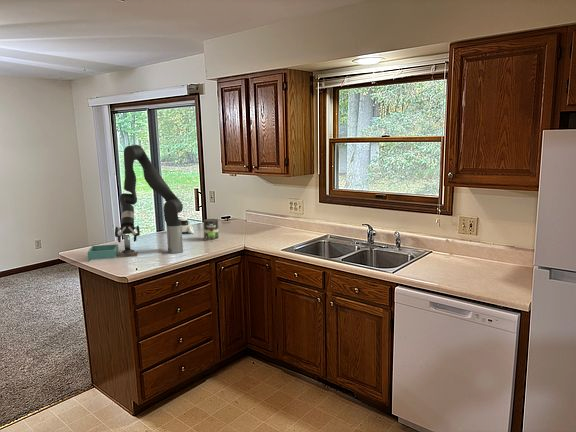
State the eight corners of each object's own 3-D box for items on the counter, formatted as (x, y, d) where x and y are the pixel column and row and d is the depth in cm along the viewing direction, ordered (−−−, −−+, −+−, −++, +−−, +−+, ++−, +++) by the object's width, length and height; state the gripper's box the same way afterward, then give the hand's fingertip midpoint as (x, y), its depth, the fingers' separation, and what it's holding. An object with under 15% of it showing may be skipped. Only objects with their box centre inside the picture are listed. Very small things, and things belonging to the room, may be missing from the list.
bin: (118, 253, 269) (118, 244, 268) (115, 259, 255) (114, 250, 254) (93, 255, 266) (92, 245, 264) (88, 261, 251) (87, 251, 250)
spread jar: (177, 232, 330) (176, 217, 328) (192, 231, 334) (191, 216, 332) (179, 235, 319) (178, 220, 317) (195, 234, 323) (194, 218, 321)
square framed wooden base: (138, 253, 268) (138, 248, 268) (136, 258, 258) (136, 253, 257) (119, 255, 266) (119, 250, 265) (117, 259, 255) (117, 254, 255)
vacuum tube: (132, 253, 264) (130, 234, 262) (131, 255, 260) (130, 236, 258) (124, 254, 263) (122, 234, 261) (123, 255, 259) (122, 236, 257)
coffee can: (219, 240, 301) (218, 220, 299) (204, 241, 299) (203, 221, 297) (218, 237, 311) (217, 218, 309) (204, 238, 309) (203, 219, 307)
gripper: (114, 216, 265) (113, 238, 256) (139, 215, 268) (138, 237, 260) (116, 223, 271) (115, 245, 262) (140, 222, 274) (140, 244, 266)
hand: (127, 241), depth 261 cm, fingers open, 8 cm apart
